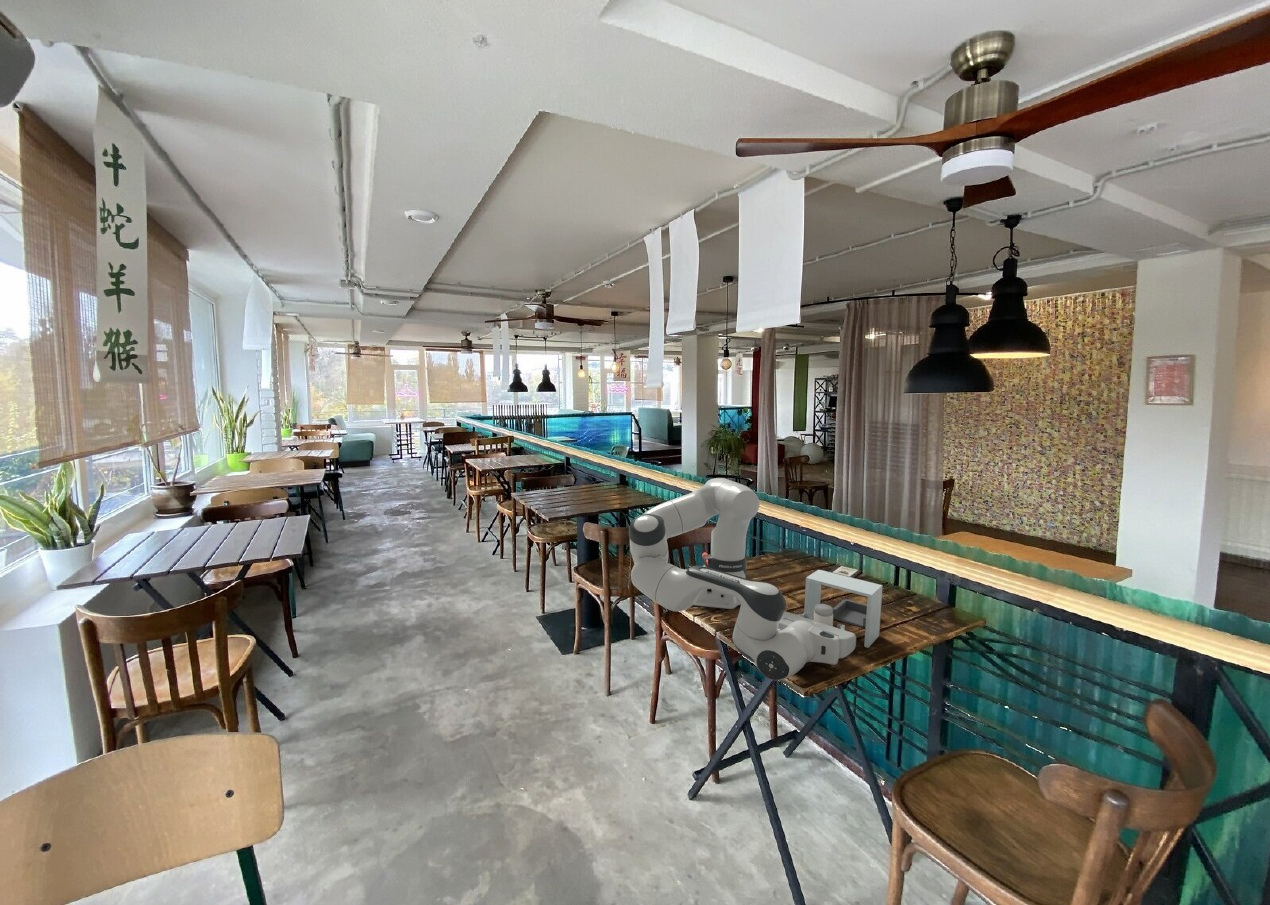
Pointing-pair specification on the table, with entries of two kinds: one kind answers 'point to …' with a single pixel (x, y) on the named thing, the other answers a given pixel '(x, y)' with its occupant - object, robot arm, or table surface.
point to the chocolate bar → (845, 571)
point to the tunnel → (849, 585)
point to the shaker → (823, 614)
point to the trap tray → (851, 613)
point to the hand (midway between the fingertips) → (824, 621)
